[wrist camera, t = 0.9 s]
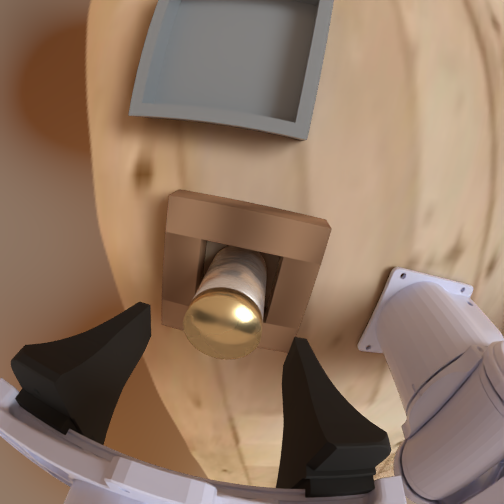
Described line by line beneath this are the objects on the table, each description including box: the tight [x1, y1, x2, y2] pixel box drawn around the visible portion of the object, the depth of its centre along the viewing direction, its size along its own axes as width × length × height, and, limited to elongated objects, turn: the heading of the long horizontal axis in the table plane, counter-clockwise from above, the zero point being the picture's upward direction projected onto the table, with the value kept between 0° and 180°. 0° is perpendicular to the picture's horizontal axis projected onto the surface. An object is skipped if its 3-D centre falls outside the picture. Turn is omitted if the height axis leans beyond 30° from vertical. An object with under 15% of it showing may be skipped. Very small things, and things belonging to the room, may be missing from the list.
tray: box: [129, 0, 334, 141], centre depth 13 cm, size 11×11×2 cm
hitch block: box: [162, 190, 331, 353], centre depth 19 cm, size 10×10×2 cm
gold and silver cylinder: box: [183, 245, 267, 360], centre depth 17 cm, size 4×4×7 cm
